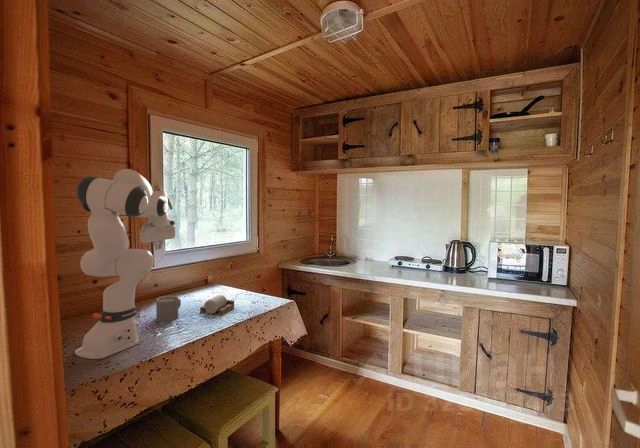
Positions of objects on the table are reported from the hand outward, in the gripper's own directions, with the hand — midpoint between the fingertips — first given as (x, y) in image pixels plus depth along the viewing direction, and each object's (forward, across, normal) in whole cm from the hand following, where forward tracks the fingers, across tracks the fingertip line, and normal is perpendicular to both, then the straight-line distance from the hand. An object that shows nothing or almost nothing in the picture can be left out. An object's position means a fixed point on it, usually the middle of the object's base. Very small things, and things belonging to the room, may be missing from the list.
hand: (158, 249), depth 161 cm
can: (+30, +8, -25) cm, 40 cm away
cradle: (+34, +16, -25) cm, 45 cm away
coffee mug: (+34, -1, -9) cm, 35 cm away
